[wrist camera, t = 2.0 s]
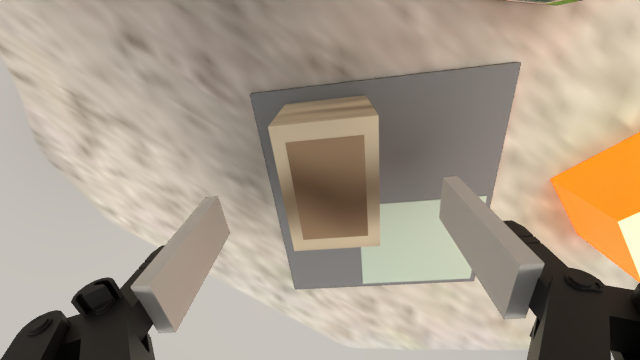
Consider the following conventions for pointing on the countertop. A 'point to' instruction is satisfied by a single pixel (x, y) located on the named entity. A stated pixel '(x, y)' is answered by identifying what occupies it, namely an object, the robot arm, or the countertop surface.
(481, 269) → the robot arm
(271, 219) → the countertop surface
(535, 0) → the syrup box
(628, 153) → the orange juice
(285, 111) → the maple block
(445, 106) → the rubber mat
